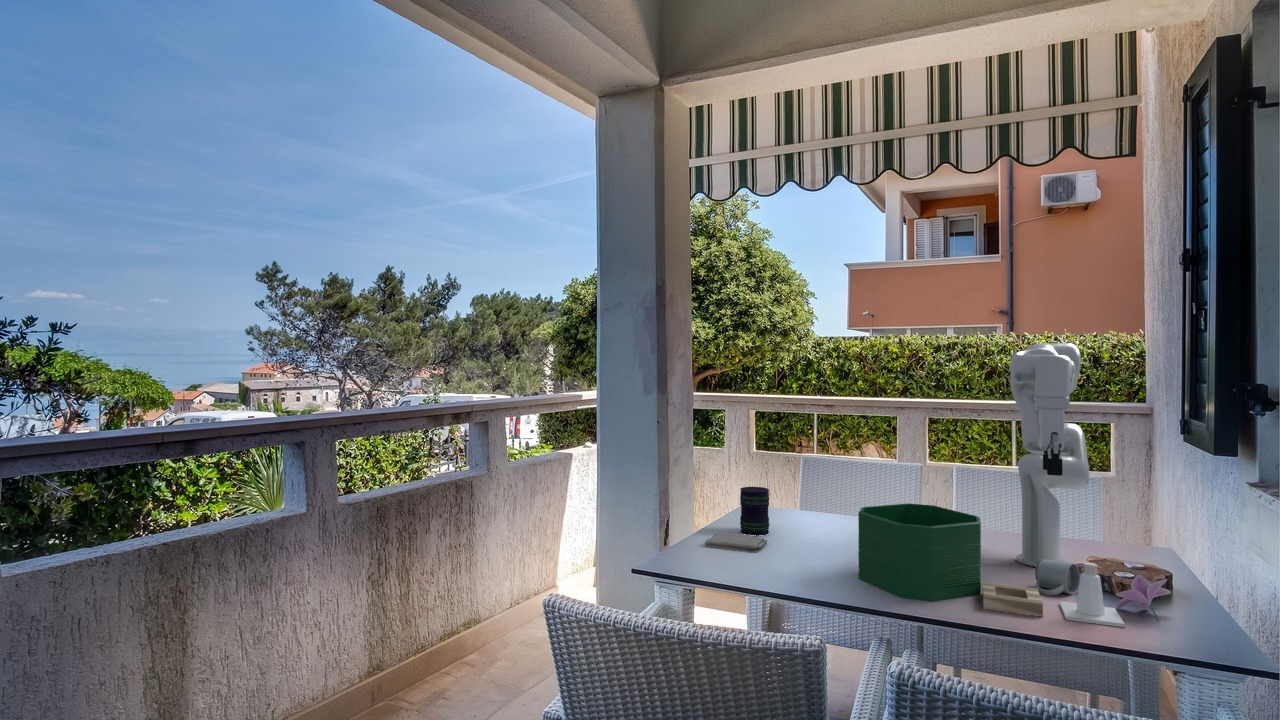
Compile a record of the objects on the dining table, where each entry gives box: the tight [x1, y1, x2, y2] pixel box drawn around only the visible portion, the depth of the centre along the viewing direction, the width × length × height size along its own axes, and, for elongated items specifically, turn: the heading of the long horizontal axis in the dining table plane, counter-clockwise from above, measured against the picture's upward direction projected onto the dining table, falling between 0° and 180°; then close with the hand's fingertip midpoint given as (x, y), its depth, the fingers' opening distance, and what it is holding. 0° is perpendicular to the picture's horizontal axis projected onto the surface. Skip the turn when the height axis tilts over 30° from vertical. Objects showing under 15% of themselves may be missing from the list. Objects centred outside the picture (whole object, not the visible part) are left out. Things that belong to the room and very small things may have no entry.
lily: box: [1115, 574, 1172, 622], centre depth 158 cm, size 12×12×10 cm
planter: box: [857, 503, 982, 603], centre depth 181 cm, size 26×26×18 cm
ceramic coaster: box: [1059, 600, 1126, 628], centre depth 157 cm, size 11×11×1 cm
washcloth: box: [704, 532, 768, 554], centre depth 219 cm, size 12×18×3 cm, turn 67°
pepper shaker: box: [1076, 561, 1105, 616], centre depth 157 cm, size 5×5×11 cm
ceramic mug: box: [1034, 560, 1081, 596], centre depth 175 cm, size 11×8×8 cm
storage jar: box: [739, 486, 770, 537], centre depth 236 cm, size 10×10×15 cm
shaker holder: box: [981, 581, 1044, 618], centre depth 164 cm, size 12×12×3 cm
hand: (1052, 472), depth 173 cm, fingers open, 9 cm apart
